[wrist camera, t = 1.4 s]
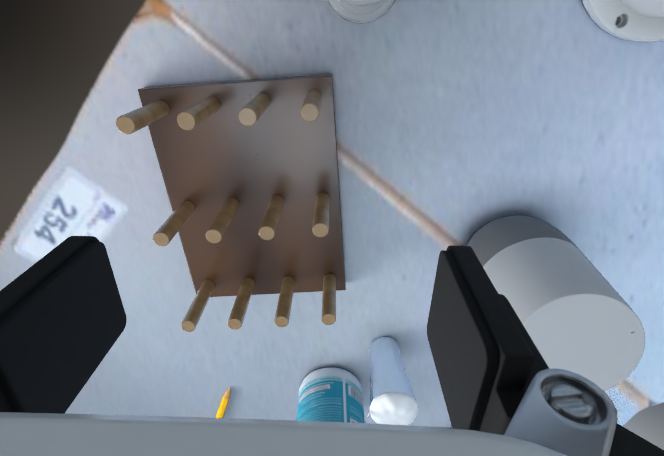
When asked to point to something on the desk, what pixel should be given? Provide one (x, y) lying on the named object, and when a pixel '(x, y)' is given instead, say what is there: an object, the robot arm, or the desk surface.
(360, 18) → the chess piece
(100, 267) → the robot arm
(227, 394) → the pencil
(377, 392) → the milkshake
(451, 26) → the desk surface
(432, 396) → the desk surface
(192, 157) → the plate rack
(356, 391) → the pill bottle
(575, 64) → the desk surface
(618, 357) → the smart speaker
